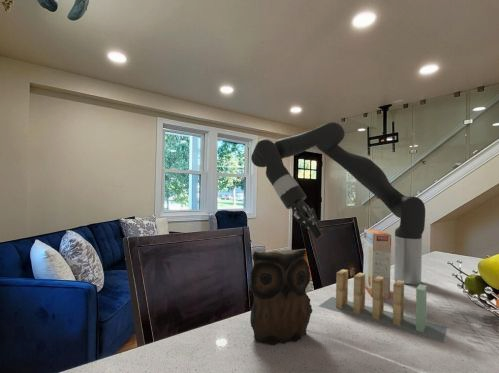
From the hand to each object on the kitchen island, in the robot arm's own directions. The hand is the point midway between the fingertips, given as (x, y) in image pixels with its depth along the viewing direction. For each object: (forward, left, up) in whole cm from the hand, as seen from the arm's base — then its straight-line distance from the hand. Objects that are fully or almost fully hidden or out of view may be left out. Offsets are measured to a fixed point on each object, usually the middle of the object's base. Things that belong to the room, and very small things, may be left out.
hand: (319, 236), depth 86 cm
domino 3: (-1, +17, -20) cm, 26 cm away
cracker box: (-22, +11, -20) cm, 32 cm away
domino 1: (-1, +7, -20) cm, 21 cm away
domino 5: (-1, +27, -20) cm, 33 cm away
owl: (+24, +1, -20) cm, 31 cm away
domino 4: (-1, +22, -20) cm, 29 cm away
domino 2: (-1, +12, -20) cm, 23 cm away
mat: (-1, +17, -20) cm, 26 cm away
